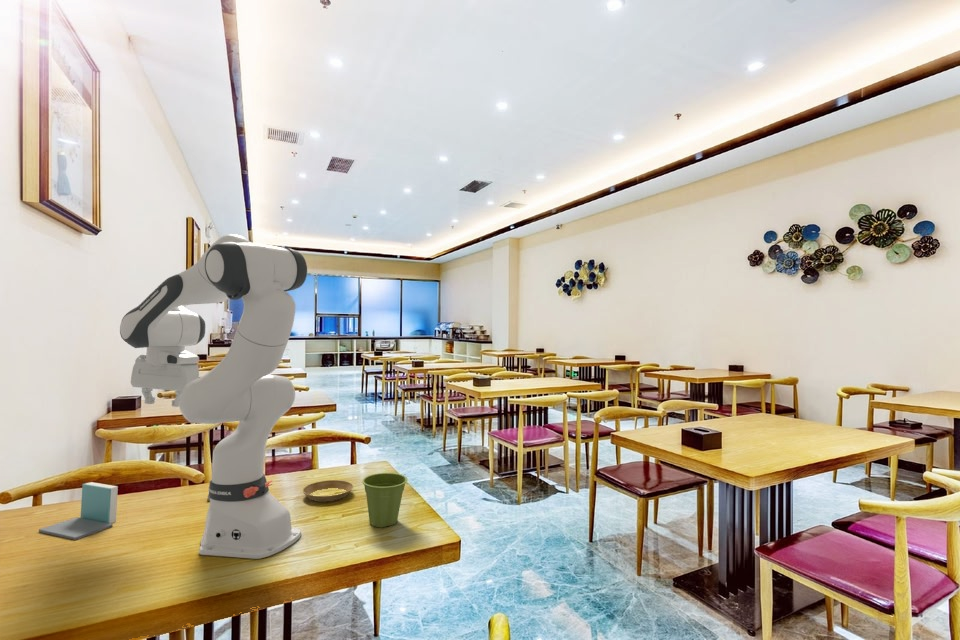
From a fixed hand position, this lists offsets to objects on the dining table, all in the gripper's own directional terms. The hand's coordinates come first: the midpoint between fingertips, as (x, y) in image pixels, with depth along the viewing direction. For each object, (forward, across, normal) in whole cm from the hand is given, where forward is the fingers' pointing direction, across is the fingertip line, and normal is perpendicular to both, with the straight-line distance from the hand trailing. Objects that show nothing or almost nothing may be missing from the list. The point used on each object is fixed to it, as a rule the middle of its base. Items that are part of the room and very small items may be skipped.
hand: (162, 405), depth 126 cm
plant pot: (+27, +65, +8) cm, 71 cm away
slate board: (+28, -6, -17) cm, 33 cm away
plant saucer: (+28, +40, +22) cm, 54 cm away
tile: (+29, -6, -11) cm, 31 cm away
